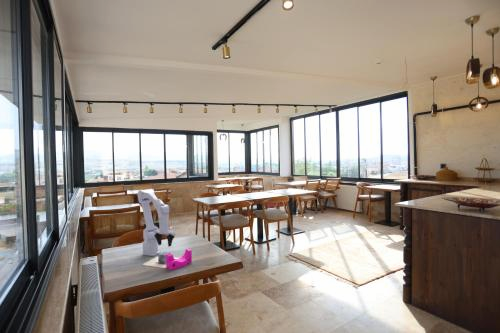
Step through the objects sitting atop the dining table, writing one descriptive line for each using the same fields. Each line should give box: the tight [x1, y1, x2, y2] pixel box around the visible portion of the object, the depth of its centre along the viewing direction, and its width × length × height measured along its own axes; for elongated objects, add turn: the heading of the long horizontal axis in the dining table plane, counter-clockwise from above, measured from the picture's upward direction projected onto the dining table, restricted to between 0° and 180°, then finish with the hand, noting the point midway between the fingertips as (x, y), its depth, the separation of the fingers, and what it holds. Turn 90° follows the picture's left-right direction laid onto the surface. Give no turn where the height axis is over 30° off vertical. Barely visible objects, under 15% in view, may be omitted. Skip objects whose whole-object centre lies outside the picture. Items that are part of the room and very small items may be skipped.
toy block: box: [166, 248, 193, 271], centre depth 167 cm, size 15×6×8 cm, turn 130°
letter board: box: [141, 255, 180, 269], centre depth 173 cm, size 17×16×1 cm
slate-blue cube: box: [157, 251, 170, 263], centre depth 173 cm, size 5×5×5 cm
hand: (164, 245), depth 175 cm, fingers open, 7 cm apart
